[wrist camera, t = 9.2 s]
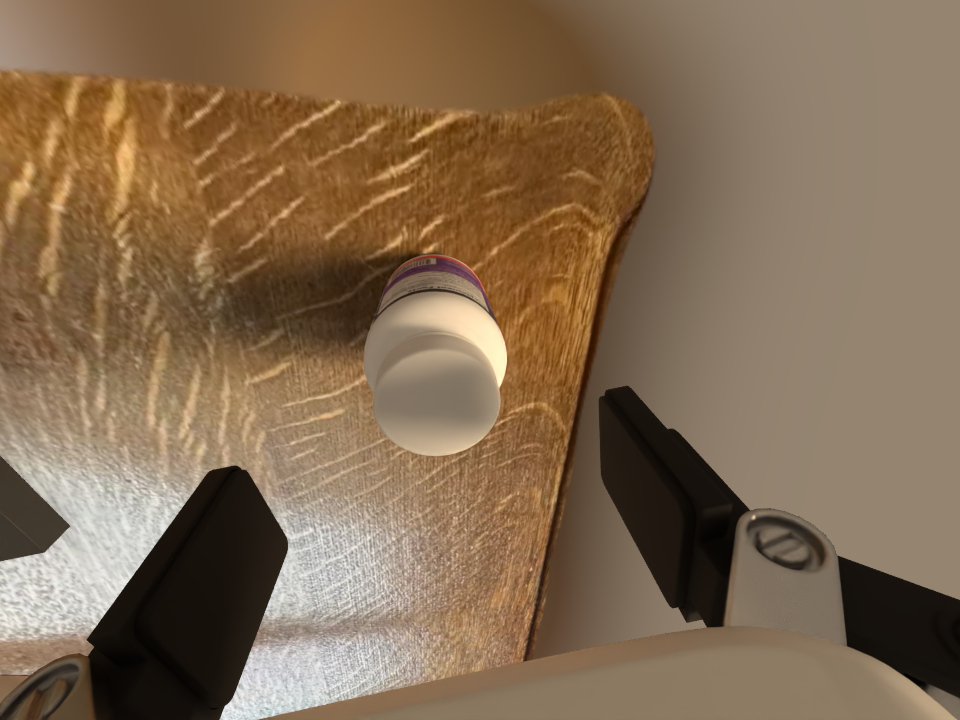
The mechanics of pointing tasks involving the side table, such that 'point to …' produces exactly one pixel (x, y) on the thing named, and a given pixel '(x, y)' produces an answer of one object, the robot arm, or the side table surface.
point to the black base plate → (25, 518)
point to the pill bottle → (435, 358)
